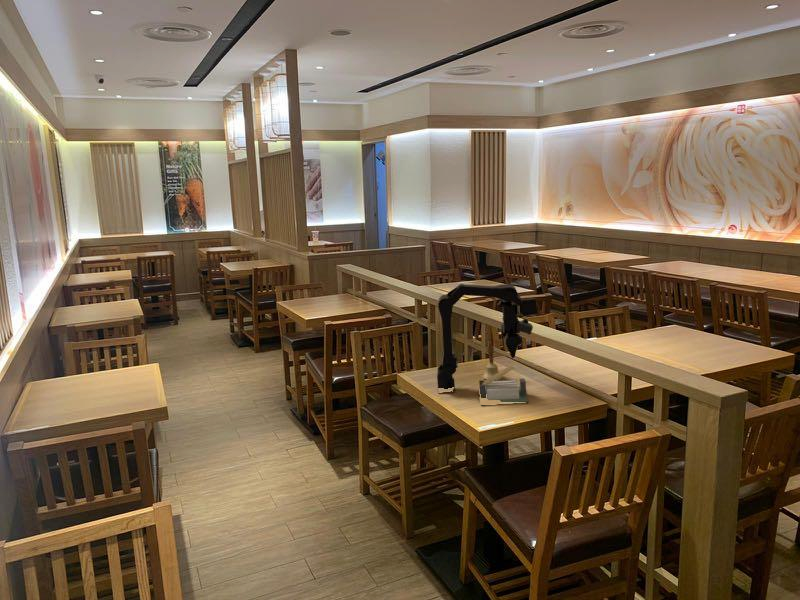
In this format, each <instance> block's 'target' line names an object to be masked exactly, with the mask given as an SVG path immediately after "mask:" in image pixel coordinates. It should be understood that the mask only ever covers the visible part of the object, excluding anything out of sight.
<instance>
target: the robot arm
mask: <svg viewBox="0 0 800 600" xmlns="http://www.w3.org/2000/svg"><path fill="white" fill-rule="evenodd" d="M463 296H468V297H469V296H471V297H484V298H485V297H486V298H487V297H489V298H494V299H498V300H500V301H499V302H497V307H498V308H502V324H501V325H500V331H501V335H502V337H503V340H504V343H505V346H506V348H507V350H508V353H509V355H510V357H511V359H514V358H516V353H517V348H518V346H520V345H522V344H523V338H522V335H521V334H520V333H525V334H527V335H531V334H532V331H533V330H534V329H533V328H534V326H533V325H532V323H529V320H528V319H526V318H523V319H522V320H520V319H519V318H518V315H520V314H521V316H522V317H528V316H529V317H530V316H531V317H532V316H538V307H537V306H538V305H537V299H536V297H530V298H522V297H521V295H519V294H518V290H517V289H516V287H515V285H514V284H511V283H505V284H504V283H503V284H498V285H480V284H479V285H478V284H465V283H460V284H458V285H457V286H455V287H454V288H453V289H451V290H450V291H448V293H446V294H443V295H440V297H439V298H438V303H437V304H438V305H437V307H438V311H439V315H440V319H441V327H442V345H443V346H442V347H443V351H442V352H443V353H442V360H441V364H440V365H439V366H438V367H437V371H436V372H437V373H436V374H437V376H436V378H437V379H436V380H437V389H438V388H444V389H448V388H452V387H455V388H456V386H455V385H456V384H455V378H454V377H453V375H454V374H455V373H456V372H457V369H458V367H459V366H458V365H459V363H458V362H459V361H458V353H454V350H453V335H452V334H453V333H452V315H453V308H454V305H455V304H456V303H458V302H459V300H460V299H461V298H463ZM518 312H519V313H518Z"/></svg>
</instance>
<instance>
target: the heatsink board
mask: <svg viewBox="0 0 800 600" xmlns="http://www.w3.org/2000/svg"><path fill="white" fill-rule="evenodd" d="M484 381H485V380H484V379H482V380H479V381H478V382H479V383H478V384H479V389H480V394H481V398H486V394H487V399H488V400H500V401H501V402H528V403H529V399H528V397H527V386H526V385H527V381H526V380H525V377H524V378H523V377H522V378H519V385H518V382H517V380H516V379H515V380H503V381H501V380H497V381H493V382H491V383H490V384H488V385H487V386H485V385H482V382H484Z"/></svg>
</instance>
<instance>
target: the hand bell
mask: <svg viewBox="0 0 800 600" xmlns="http://www.w3.org/2000/svg"><path fill="white" fill-rule="evenodd" d="M486 348H487V354H488V356H489V357H488V362H489V363H488V364H487V365H486V368H485V369H486V370H485V372H484V374H483V375H482V379H483V378H485V379H489V378H490V377H492V376H494V375H495V374H497V373H499V372H500V371H499V369H498V365H497V364H496V363H494V362H495V361H494V357H493V356H494V346H493V343H492V341H488V342H487V347H486ZM502 378H503V376H501V377H500V378H498V379H496V380H497V381H500V380H501V379H502ZM499 379H500V380H499Z"/></svg>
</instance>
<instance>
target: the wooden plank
mask: <svg viewBox="0 0 800 600" xmlns="http://www.w3.org/2000/svg"><path fill="white" fill-rule="evenodd" d="M514 369H515V368H514V366H513V364H510V365H509V366H507V367H504V369H502V370H500V371H499V373H497V374H495V375H494V376H492V377H490V378H489V379H487V380H484V382H482V385H485V387H486V386H487V385H488V384H490V383H491V382H496V381H495V380H496V379H498V378H500V377H501V376H502V377H503V376H505V375H507V374H508V373H509V372H511V371H513V370H514Z"/></svg>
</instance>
